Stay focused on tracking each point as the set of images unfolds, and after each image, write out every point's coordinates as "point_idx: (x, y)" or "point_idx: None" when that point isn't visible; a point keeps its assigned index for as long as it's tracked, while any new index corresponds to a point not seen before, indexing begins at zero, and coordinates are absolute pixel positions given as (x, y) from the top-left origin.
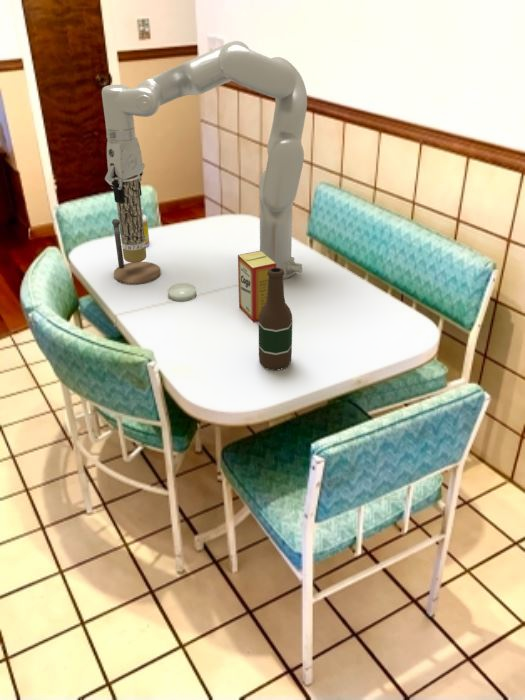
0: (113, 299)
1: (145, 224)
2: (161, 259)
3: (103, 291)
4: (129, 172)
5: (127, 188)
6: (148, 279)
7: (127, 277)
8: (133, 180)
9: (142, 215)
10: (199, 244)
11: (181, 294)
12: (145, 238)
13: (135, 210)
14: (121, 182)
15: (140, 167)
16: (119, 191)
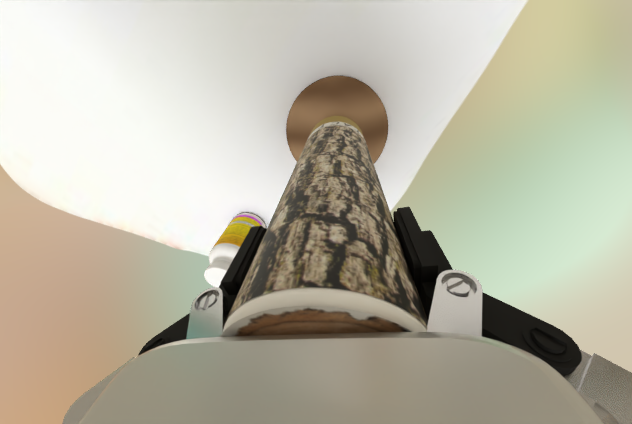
0: (465, 69)
1: (224, 239)
2: (254, 152)
3: (438, 124)
4: (380, 421)
5: (390, 255)
6: (350, 77)
7: (372, 125)
8: (333, 286)
9: (216, 258)
10: (152, 147)
11: None
12: (239, 221)
13: (344, 164)
14: (449, 324)
15: (126, 421)
16: (440, 268)
